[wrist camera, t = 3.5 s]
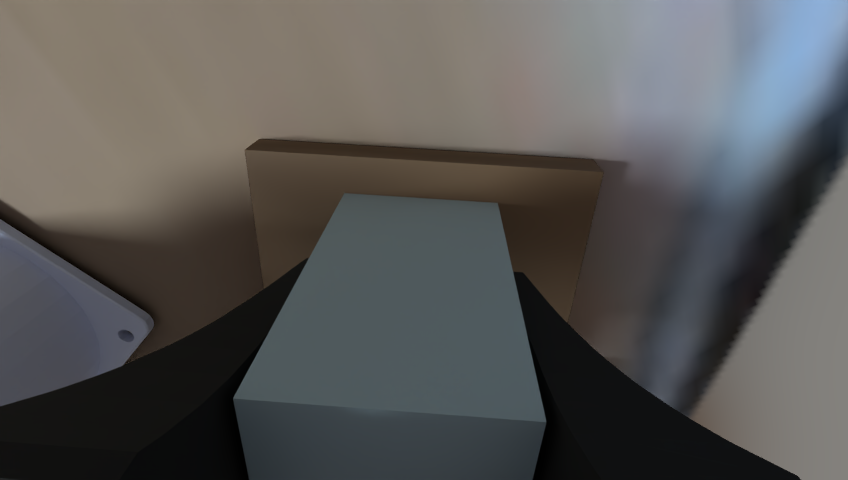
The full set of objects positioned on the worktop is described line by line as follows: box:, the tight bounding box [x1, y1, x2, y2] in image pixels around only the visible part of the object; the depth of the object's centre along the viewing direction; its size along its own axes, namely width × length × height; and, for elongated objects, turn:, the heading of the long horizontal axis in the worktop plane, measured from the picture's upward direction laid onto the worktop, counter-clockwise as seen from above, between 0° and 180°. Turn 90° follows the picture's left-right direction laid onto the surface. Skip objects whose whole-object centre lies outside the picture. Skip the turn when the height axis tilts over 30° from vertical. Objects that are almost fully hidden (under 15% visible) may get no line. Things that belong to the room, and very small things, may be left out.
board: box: [245, 139, 604, 323], centre depth 14 cm, size 14×9×4 cm, turn 177°
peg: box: [233, 193, 546, 480], centre depth 10 cm, size 4×4×7 cm
